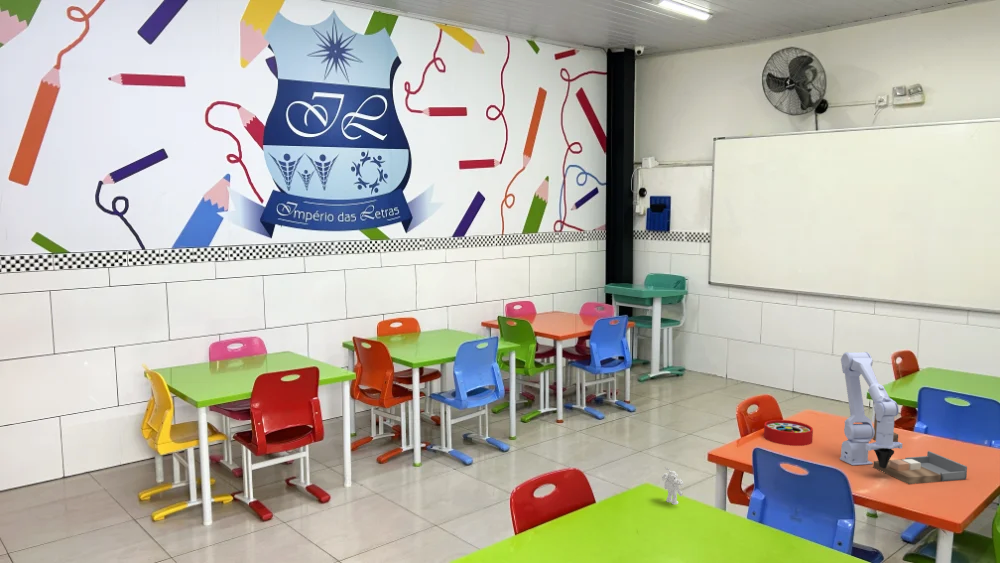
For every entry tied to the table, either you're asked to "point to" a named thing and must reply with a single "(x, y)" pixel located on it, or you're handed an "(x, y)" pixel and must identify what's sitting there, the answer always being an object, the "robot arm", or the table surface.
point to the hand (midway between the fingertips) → (882, 467)
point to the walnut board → (910, 474)
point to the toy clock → (788, 432)
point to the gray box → (942, 466)
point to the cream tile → (913, 464)
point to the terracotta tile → (899, 465)
